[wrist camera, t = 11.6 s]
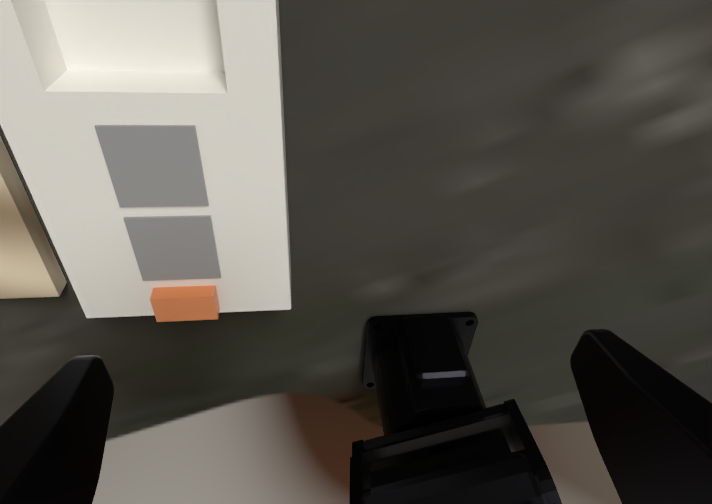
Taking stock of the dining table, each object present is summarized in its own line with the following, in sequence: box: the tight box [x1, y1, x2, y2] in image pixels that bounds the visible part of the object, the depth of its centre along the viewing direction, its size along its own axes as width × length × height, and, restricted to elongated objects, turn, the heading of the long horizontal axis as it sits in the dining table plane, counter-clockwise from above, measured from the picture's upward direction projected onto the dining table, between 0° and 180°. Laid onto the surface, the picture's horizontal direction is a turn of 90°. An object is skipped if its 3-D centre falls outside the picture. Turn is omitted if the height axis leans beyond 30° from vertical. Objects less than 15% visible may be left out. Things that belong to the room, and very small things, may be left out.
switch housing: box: [0, 0, 291, 322], centre depth 17 cm, size 18×9×4 cm, turn 177°
